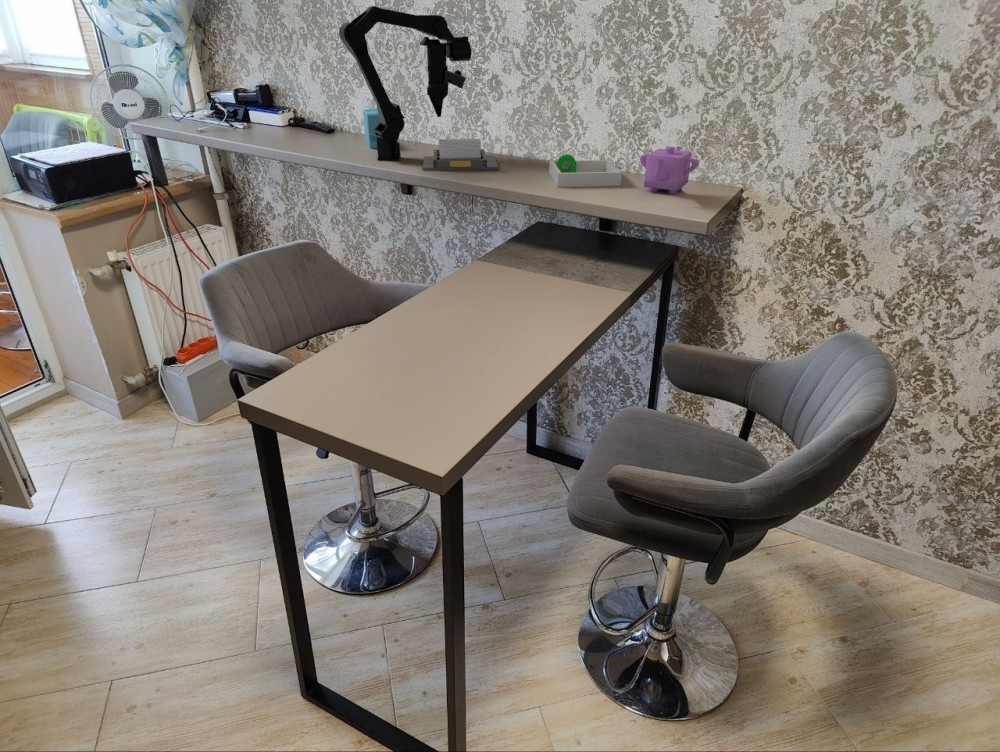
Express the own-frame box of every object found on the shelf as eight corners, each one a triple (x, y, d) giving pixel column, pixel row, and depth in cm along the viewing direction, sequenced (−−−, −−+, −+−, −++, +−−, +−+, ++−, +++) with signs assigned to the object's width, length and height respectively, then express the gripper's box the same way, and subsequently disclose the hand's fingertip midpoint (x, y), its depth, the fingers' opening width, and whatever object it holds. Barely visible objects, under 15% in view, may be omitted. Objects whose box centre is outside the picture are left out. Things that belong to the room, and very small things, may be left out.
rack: (422, 171, 200) (422, 160, 199) (424, 159, 216) (423, 149, 214) (497, 170, 201) (497, 159, 200) (494, 158, 217) (494, 148, 215)
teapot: (630, 184, 185) (634, 142, 180) (676, 182, 188) (681, 140, 183) (653, 198, 172) (658, 153, 167) (702, 195, 175) (709, 151, 170)
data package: (384, 151, 228) (381, 113, 223) (370, 152, 227) (367, 113, 221) (379, 145, 238) (376, 108, 233) (365, 145, 237) (362, 108, 232)
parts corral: (557, 187, 183) (558, 173, 181) (549, 173, 198) (549, 160, 196) (620, 186, 184) (621, 172, 182) (607, 172, 199) (608, 160, 197)
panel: (439, 165, 202) (438, 141, 198) (440, 163, 204) (439, 139, 201) (480, 165, 202) (480, 140, 199) (480, 163, 205) (480, 138, 202)
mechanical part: (573, 180, 201) (575, 151, 198) (575, 184, 196) (577, 155, 192) (532, 179, 202) (533, 150, 198) (533, 183, 196) (534, 154, 192)
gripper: (464, 64, 199) (465, 121, 206) (463, 59, 215) (464, 112, 223) (425, 64, 198) (428, 121, 206) (427, 59, 215) (430, 112, 222)
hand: (439, 116), depth 214 cm, fingers closed
